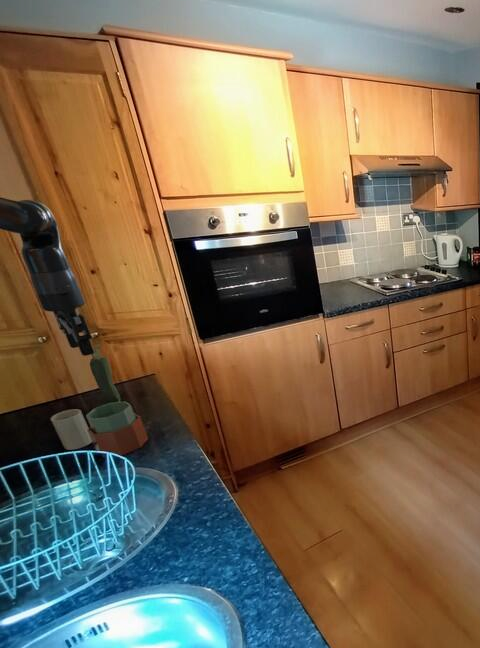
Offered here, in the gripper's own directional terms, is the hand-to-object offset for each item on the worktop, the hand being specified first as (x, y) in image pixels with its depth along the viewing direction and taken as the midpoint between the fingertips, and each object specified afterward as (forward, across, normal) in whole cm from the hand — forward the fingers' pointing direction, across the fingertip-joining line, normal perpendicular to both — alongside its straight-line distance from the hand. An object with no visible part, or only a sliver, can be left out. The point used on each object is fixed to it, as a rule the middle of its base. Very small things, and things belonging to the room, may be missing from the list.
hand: (82, 350), depth 114 cm
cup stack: (+26, +6, -1) cm, 27 cm away
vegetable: (+26, -22, +6) cm, 35 cm away
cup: (+26, -4, -7) cm, 27 cm away
